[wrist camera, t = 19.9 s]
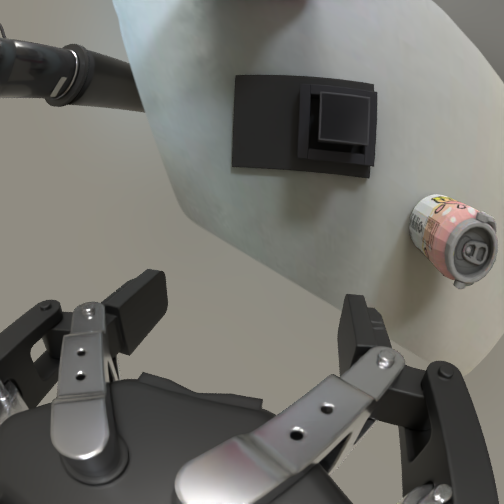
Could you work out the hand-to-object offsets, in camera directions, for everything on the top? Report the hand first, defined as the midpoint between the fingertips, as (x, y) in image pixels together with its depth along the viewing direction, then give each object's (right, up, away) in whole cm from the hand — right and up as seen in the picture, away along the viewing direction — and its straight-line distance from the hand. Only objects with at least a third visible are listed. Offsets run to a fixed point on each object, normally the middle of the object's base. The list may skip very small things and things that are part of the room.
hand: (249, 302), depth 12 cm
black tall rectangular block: (+10, +17, +19) cm, 27 cm away
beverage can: (+25, +6, +21) cm, 33 cm away
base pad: (+6, +18, +20) cm, 28 cm away
